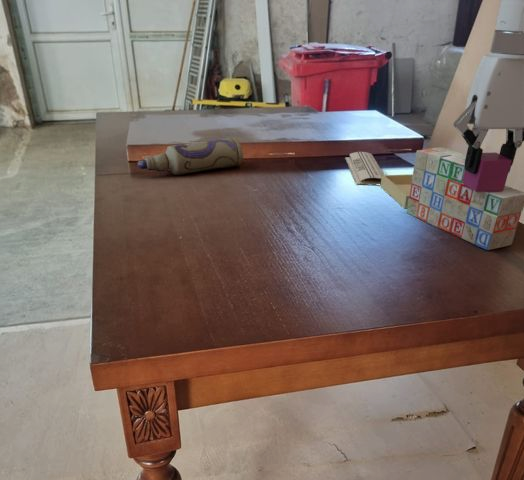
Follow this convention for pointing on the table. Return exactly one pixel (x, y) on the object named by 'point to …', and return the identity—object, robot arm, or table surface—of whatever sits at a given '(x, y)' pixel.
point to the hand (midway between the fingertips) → (486, 170)
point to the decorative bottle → (196, 157)
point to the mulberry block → (489, 173)
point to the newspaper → (364, 168)
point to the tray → (398, 187)
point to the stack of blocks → (462, 201)
